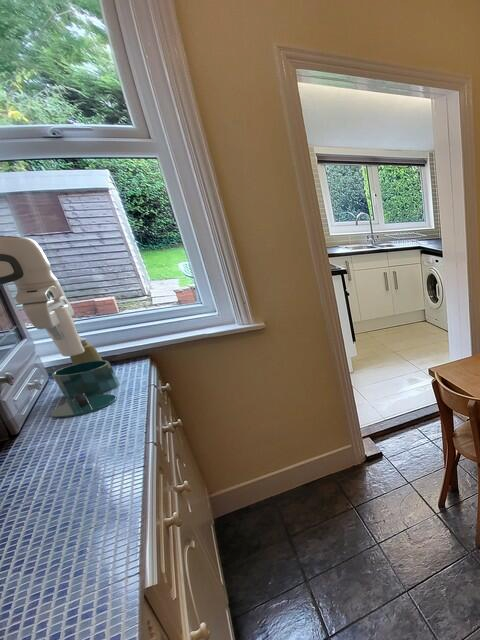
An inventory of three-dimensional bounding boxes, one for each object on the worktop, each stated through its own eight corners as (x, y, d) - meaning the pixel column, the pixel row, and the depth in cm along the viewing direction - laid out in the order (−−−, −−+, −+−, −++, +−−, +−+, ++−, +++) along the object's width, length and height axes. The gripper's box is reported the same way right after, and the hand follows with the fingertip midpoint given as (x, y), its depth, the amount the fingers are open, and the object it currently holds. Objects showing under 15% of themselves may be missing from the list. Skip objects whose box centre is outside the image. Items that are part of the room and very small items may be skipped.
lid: (44, 424, 116) (35, 410, 114) (62, 405, 127) (55, 391, 125) (110, 410, 122) (103, 396, 120) (122, 393, 134) (116, 380, 132)
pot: (58, 404, 128) (44, 379, 125) (73, 389, 139) (60, 366, 135) (114, 393, 134) (102, 369, 131) (124, 380, 145) (113, 357, 141)
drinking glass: (67, 358, 127) (42, 311, 121) (54, 357, 129) (29, 310, 123) (93, 351, 133) (71, 305, 127) (80, 349, 135) (58, 304, 129)
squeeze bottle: (111, 371, 153) (88, 325, 146) (109, 377, 147) (86, 329, 140) (81, 377, 148) (57, 330, 141) (79, 384, 143) (53, 334, 135)
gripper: (41, 288, 130) (63, 330, 135) (11, 299, 113) (37, 346, 119) (68, 285, 132) (88, 327, 138) (43, 296, 116) (67, 342, 122)
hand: (64, 336), depth 128 cm, fingers closed on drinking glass, 6 cm apart
